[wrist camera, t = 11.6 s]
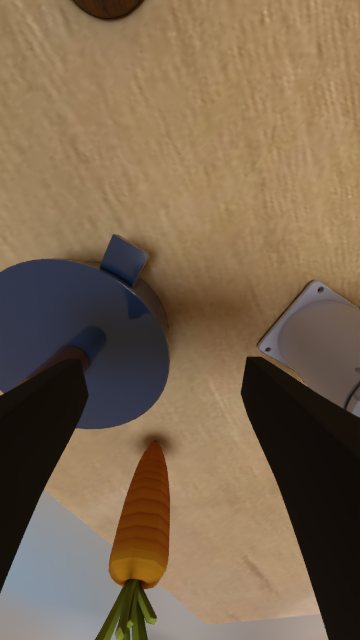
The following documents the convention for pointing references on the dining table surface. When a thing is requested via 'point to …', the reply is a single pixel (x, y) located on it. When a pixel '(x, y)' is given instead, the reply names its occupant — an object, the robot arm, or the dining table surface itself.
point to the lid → (83, 336)
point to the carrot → (140, 547)
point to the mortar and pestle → (107, 7)
